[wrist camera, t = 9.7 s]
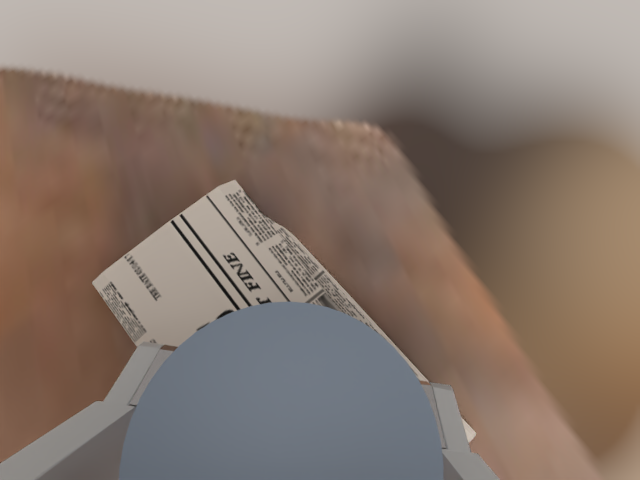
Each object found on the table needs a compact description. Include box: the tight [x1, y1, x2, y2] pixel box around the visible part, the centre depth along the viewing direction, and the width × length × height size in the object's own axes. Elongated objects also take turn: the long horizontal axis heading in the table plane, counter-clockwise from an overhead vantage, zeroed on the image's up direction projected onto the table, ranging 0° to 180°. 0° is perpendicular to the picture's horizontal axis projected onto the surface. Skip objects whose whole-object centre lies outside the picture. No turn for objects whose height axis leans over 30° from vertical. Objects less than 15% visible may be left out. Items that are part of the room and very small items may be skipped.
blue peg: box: [119, 302, 443, 480], centre depth 9 cm, size 4×4×9 cm
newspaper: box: [92, 180, 476, 443], centre depth 22 cm, size 23×12×2 cm, turn 39°
